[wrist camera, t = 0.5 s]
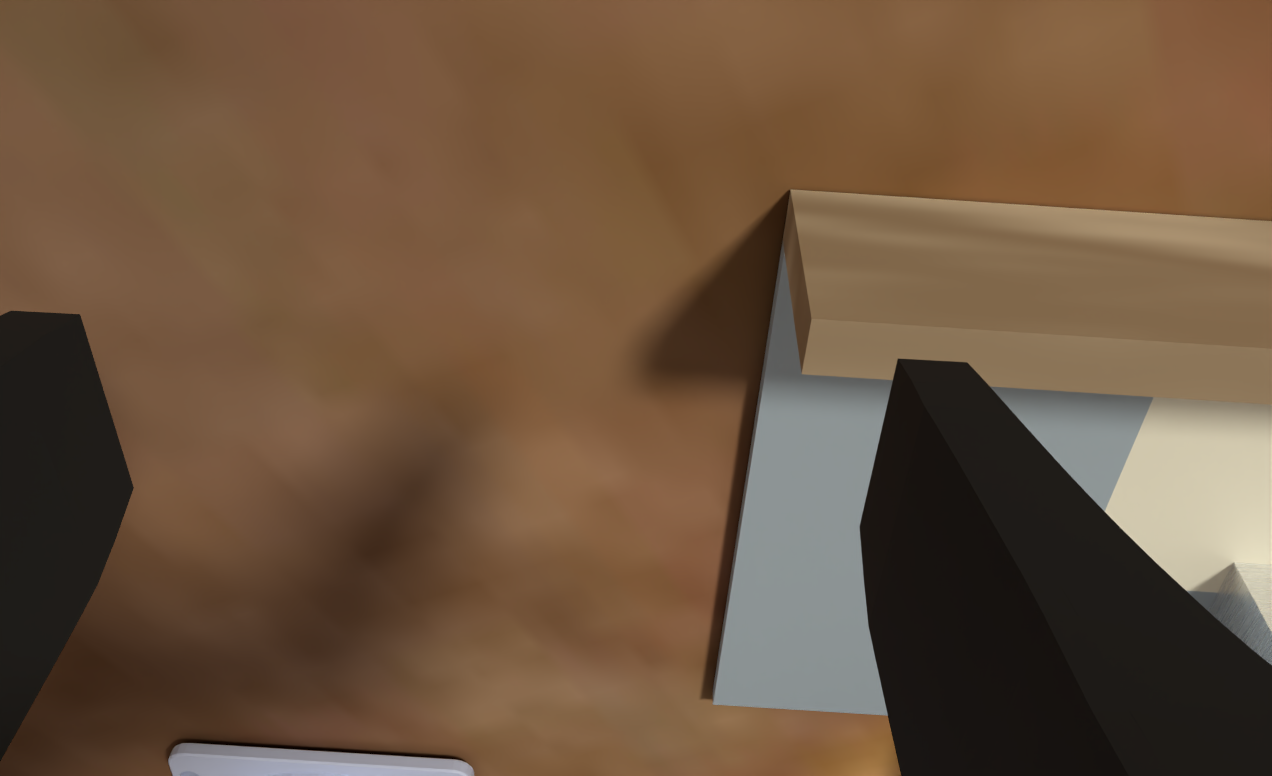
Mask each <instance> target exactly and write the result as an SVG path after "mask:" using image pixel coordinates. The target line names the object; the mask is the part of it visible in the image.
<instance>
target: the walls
mask: <svg viewBox="0 0 1272 776" xmlns="http://www.w3.org/2000/svg"><path fill="white" fill-rule="evenodd" d="M783 246H784V253H785V260H786V267H787V274H788V281H789V288H790V295H791V302H792V310H793V317H794V324H795V331H796V338H797V345H798V352H799V359H800V366H801V373H802V374H806V375H821V376H837V377H852V378H867V379H883V380H893V377H894V373H895V368H896V364H897V360H898V359H916V360H935V361H954V362H967V363H968V364H969V365H970V366H971V367H972V368H973V369H974V370H975V371H976V372H977V373H978V374H979V375H980V376H981V377H982V378H983V380H984V381H985V382H986V383H987V384H988V385H989V386H991V387H1006V388H1022V389H1037V390H1053V391H1068V392H1083V393H1099V394H1114V395H1130V396H1145V397H1161V398H1176V399H1191V400H1207V401H1222V402H1238V403H1253V404H1269V405H1272V221H1260V220H1245V219H1229V218H1214V217H1199V216H1184V215H1169V214H1154V213H1139V212H1123V211H1108V210H1093V209H1078V208H1063V207H1048V206H1032V205H1017V204H1002V203H987V202H972V201H957V200H942V199H926V198H911V197H896V196H881V195H866V194H851V193H836V192H820V191H805V190H790V196H789V203H788V209H787V216H786V222H785V228H784V235H783Z"/></svg>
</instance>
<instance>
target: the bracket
mask: <svg viewBox="0 0 1272 776" xmlns="http://www.w3.org/2000/svg"><path fill="white" fill-rule="evenodd" d="M1208 611H1209V612H1210V613H1211V614H1212V615H1213V616H1214V617H1215V618H1216V619H1217V620H1219V621H1220V622H1221V623H1222V624H1223V625H1224V626H1225V627H1227V628H1228V629H1229V630H1230V631H1231V632H1232V633H1234V634H1235V635H1236V636H1237V637H1238V638H1239V639H1241V640H1242V641H1243V642H1244V643H1245V644H1246V645H1247V646H1249V647H1250V648H1251V649H1252V650H1253V651H1255V652H1256V653H1257V654H1258V655H1260V656H1261V657H1262V658H1263V659H1264V660H1266V661H1267V662H1268V663H1269V664H1271V665H1272V565H1269V564H1253V563H1237V562H1234V563H1233V565H1232V567H1231V569H1230V570H1229V572H1228V574H1227V576H1226V578H1225V580H1224V581H1223V583H1222V585H1221V587H1220V589H1219V591H1218V592H1217V594H1216V596H1215V598H1214V600H1213V602H1212V603H1211V605H1210V607H1209V609H1208Z"/></svg>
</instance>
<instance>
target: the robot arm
mask: <svg viewBox="0 0 1272 776" xmlns="http://www.w3.org/2000/svg"><path fill="white" fill-rule="evenodd" d="M133 488H134V487H133V484H132V481H131V478H130V475H129V471H128V468H127V465H126V462H125V458H124V455H123V452H122V449H121V445H120V442H119V439H118V436H117V433H116V429H115V426H114V423H113V420H112V416H111V413H110V410H109V407H108V403H107V400H106V397H105V394H104V391H103V387H102V384H101V381H100V378H99V374H98V371H97V368H96V365H95V361H94V358H93V355H92V352H91V349H90V345H89V342H88V339H87V336H86V332H85V329H84V326H83V323H82V320H81V316H80V314H61V313H43V312H24V311H10V312H7V313H5V314H3V315H1V316H0V761H1V759H2V757H3V755H4V754H5V752H6V750H7V748H8V746H9V745H10V743H11V741H12V739H13V737H14V736H15V734H16V732H17V730H18V729H19V727H20V725H21V723H22V721H23V720H24V718H25V716H26V714H27V712H28V711H29V709H30V707H31V705H32V703H33V702H34V700H35V698H36V696H37V695H38V693H39V691H40V689H41V687H42V686H43V684H44V682H45V680H46V678H47V677H48V675H49V673H50V671H51V670H52V668H53V666H54V664H55V662H56V661H57V659H58V657H59V655H60V653H61V651H62V650H63V648H64V646H65V644H66V642H67V640H68V639H69V637H70V635H71V633H72V631H73V629H74V628H75V626H76V624H77V622H78V620H79V618H80V617H81V615H82V613H83V611H84V609H85V607H86V605H87V603H88V602H89V600H90V598H91V596H92V594H93V592H94V590H95V588H96V586H97V584H98V582H99V579H100V577H101V574H102V572H103V569H104V567H105V564H106V562H107V559H108V557H109V554H110V552H111V549H112V547H113V544H114V542H115V539H116V536H117V533H118V530H119V528H120V525H121V522H122V519H123V516H124V514H125V511H126V508H127V505H128V502H129V499H130V497H131V494H132V491H133ZM859 528H860V540H861V552H862V564H863V576H864V587H865V597H866V606H867V616H868V626H869V631H870V636H871V640H872V645H873V650H874V655H875V659H876V664H877V668H878V673H879V677H880V682H881V687H882V691H883V696H884V700H885V705H886V709H887V714H888V718H889V723H890V727H891V731H892V736H893V740H894V745H895V749H896V754H897V758H898V762H899V767H900V771H901V776H1272V665H1271V664H1269V663H1268V662H1267V661H1266V660H1264V659H1263V658H1262V657H1261V656H1260V655H1258V654H1257V653H1256V652H1255V651H1253V650H1252V649H1251V648H1250V647H1249V646H1247V645H1246V644H1245V643H1244V642H1243V641H1242V640H1241V639H1239V638H1238V637H1237V636H1236V635H1235V634H1234V633H1232V632H1231V631H1230V630H1229V629H1228V628H1227V627H1225V626H1224V625H1223V624H1222V623H1221V622H1220V621H1219V620H1217V619H1216V618H1215V617H1214V616H1213V615H1212V614H1211V613H1210V612H1209V611H1208V610H1206V609H1205V608H1204V607H1203V606H1202V605H1201V604H1200V603H1199V602H1198V601H1197V600H1196V599H1195V598H1194V597H1192V596H1191V595H1190V594H1189V593H1188V592H1187V591H1186V590H1185V589H1184V588H1183V587H1182V586H1181V585H1180V584H1178V583H1177V582H1176V581H1175V580H1174V579H1173V578H1172V577H1171V576H1170V575H1169V574H1168V573H1167V572H1166V571H1164V570H1163V569H1162V568H1161V567H1160V566H1159V565H1158V564H1157V563H1156V562H1155V561H1154V560H1153V559H1152V558H1151V557H1150V556H1149V555H1148V554H1147V553H1146V552H1145V551H1144V550H1142V549H1141V548H1140V547H1139V546H1138V545H1137V544H1136V543H1135V542H1134V541H1133V540H1132V539H1131V538H1130V537H1129V536H1128V535H1127V534H1126V533H1125V532H1124V531H1123V530H1122V529H1121V528H1120V527H1119V526H1118V525H1117V524H1116V523H1115V522H1114V521H1113V520H1112V519H1111V518H1110V517H1109V516H1108V515H1107V514H1106V512H1105V511H1104V510H1103V509H1102V508H1101V507H1100V506H1099V505H1098V504H1097V503H1096V502H1095V501H1094V500H1093V499H1092V498H1091V497H1090V496H1089V495H1088V494H1087V493H1086V492H1085V491H1084V490H1083V489H1082V487H1081V486H1080V485H1079V484H1078V483H1077V482H1076V481H1075V480H1074V479H1073V478H1072V477H1071V476H1070V475H1069V474H1068V473H1067V471H1066V470H1065V469H1064V468H1063V467H1062V466H1061V465H1060V464H1059V463H1058V462H1057V461H1056V460H1055V459H1054V457H1053V456H1052V455H1051V454H1050V453H1049V452H1048V451H1047V450H1046V449H1045V447H1044V446H1043V445H1042V444H1041V443H1040V442H1039V441H1038V440H1037V439H1036V438H1035V436H1034V435H1033V434H1032V433H1031V432H1030V431H1029V430H1028V429H1027V428H1026V426H1025V425H1024V424H1023V423H1022V422H1021V421H1020V420H1019V419H1018V418H1017V416H1016V415H1015V414H1014V413H1013V412H1012V411H1011V410H1010V409H1009V407H1008V406H1007V405H1006V404H1005V403H1004V402H1003V401H1002V400H1001V398H1000V397H999V396H998V395H997V394H996V393H995V392H994V391H993V390H992V388H991V387H990V386H989V385H988V384H987V383H986V382H985V381H984V380H983V378H982V377H981V376H980V375H979V374H978V373H977V372H976V371H975V370H974V369H973V368H972V367H971V366H970V365H969V364H968V363H967V362H954V361H935V360H916V359H898V360H897V364H896V368H895V373H894V377H893V382H892V386H891V390H890V395H889V399H888V404H887V408H886V412H885V417H884V421H883V426H882V430H881V434H880V439H879V443H878V448H877V452H876V456H875V461H874V465H873V469H872V474H871V478H870V483H869V487H868V491H867V496H866V500H865V505H864V509H863V513H862V518H861V522H860V527H859ZM168 764H169V766H170V769H171V772H172V775H173V776H474V771H473V768H472V767H471V766H470V765H469V764H468V763H466V762H464V761H462V760H456V759H443V758H427V757H411V756H395V755H379V754H363V753H347V752H331V751H315V750H298V749H282V748H266V747H250V746H234V745H218V744H202V743H181V744H179V745H176V746H175V747H174V748H173V749H172V752H171V754H170V756H169V759H168Z"/></svg>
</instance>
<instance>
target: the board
mask: <svg viewBox="0 0 1272 776" xmlns="http://www.w3.org/2000/svg"><path fill="white" fill-rule="evenodd" d="M892 382H893V380H883V379H867V378H852V377H837V376H821V375H806V374H802V373H801V366H800V359H799V352H798V345H797V338H796V331H795V324H794V317H793V310H792V302H791V295H790V288H789V281H788V274H787V267H786V260H785V253H784V246H783V241H782V248H781V254H780V261H779V267H778V274H777V280H776V286H775V293H774V299H773V306H772V312H771V319H770V325H769V332H768V338H767V344H766V351H765V357H764V364H763V370H762V377H761V383H760V390H759V396H758V402H757V409H756V415H755V422H754V428H753V435H752V441H751V448H750V454H749V460H748V467H747V473H746V480H745V486H744V493H743V499H742V506H741V512H740V518H739V525H738V531H737V538H736V544H735V551H734V557H733V563H732V570H731V576H730V583H729V589H728V596H727V602H726V609H725V615H724V621H723V628H722V634H721V641H720V647H719V654H718V660H717V667H716V673H715V679H714V686H713V704H714V705H730V706H746V707H762V708H778V709H794V710H810V711H826V712H842V713H858V714H874V715H888V714H887V709H886V705H885V700H884V696H883V691H882V687H881V682H880V677H879V673H878V668H877V664H876V659H875V655H874V650H873V645H872V640H871V636H870V631H869V626H868V616H867V606H866V597H865V587H864V576H863V564H862V552H861V540H860V528H859V527H860V522H861V518H862V513H863V509H864V505H865V500H866V496H867V491H868V487H869V483H870V478H871V474H872V469H873V465H874V461H875V456H876V452H877V448H878V443H879V439H880V434H881V430H882V426H883V421H884V417H885V412H886V408H887V404H888V399H889V395H890V390H891V386H892ZM990 387H991V386H990ZM991 388H992V390H993V391H994V392H995V393H996V394H997V395H998V396H999V397H1000V398H1001V400H1002V401H1003V402H1004V403H1005V404H1006V405H1007V406H1008V407H1009V409H1010V410H1011V411H1012V412H1013V413H1014V414H1015V415H1016V416H1017V418H1018V419H1019V420H1020V421H1021V422H1022V423H1023V424H1024V425H1025V426H1026V428H1027V429H1028V430H1029V431H1030V432H1031V433H1032V434H1033V435H1034V436H1035V438H1036V439H1037V440H1038V441H1039V442H1040V443H1041V444H1042V445H1043V446H1044V447H1045V449H1046V450H1047V451H1048V452H1049V453H1050V454H1051V455H1052V456H1053V457H1054V459H1055V460H1056V461H1057V462H1058V463H1059V464H1060V465H1061V466H1062V467H1063V468H1064V469H1065V470H1066V471H1067V473H1068V474H1069V475H1070V476H1071V477H1072V478H1073V479H1074V480H1075V481H1076V482H1077V483H1078V484H1079V485H1080V486H1081V487H1082V489H1083V490H1084V491H1085V492H1086V493H1087V494H1088V495H1089V496H1090V497H1091V498H1092V499H1093V500H1094V501H1095V502H1096V503H1097V504H1098V505H1099V506H1100V507H1101V508H1102V509H1103V510H1104V511H1105V512H1106V514H1107V515H1108V516H1109V517H1110V518H1111V519H1112V520H1113V521H1114V522H1115V523H1116V524H1117V525H1118V526H1119V527H1120V528H1121V529H1122V530H1123V531H1124V532H1125V533H1126V534H1127V535H1128V536H1129V537H1130V538H1131V539H1132V540H1133V541H1134V542H1135V543H1136V544H1137V545H1138V546H1139V547H1140V548H1141V549H1142V550H1144V551H1145V552H1146V553H1147V554H1148V555H1149V556H1150V557H1151V558H1152V559H1153V560H1154V561H1155V562H1156V563H1157V564H1158V565H1159V566H1160V567H1161V568H1162V569H1163V570H1164V571H1166V572H1167V573H1168V574H1169V575H1170V576H1171V577H1172V578H1173V579H1174V580H1175V581H1176V582H1177V583H1178V584H1180V585H1181V586H1182V587H1183V588H1184V589H1185V590H1186V591H1187V592H1188V593H1189V594H1190V595H1191V596H1192V597H1194V598H1195V599H1196V600H1197V601H1198V602H1199V603H1200V604H1201V605H1202V606H1203V607H1204V608H1205V609H1206V610H1208V609H1209V607H1210V605H1211V603H1212V602H1213V600H1214V598H1215V596H1216V594H1217V592H1218V591H1219V589H1220V587H1221V585H1222V583H1223V581H1224V580H1225V578H1226V576H1227V574H1228V572H1229V570H1230V569H1231V567H1232V565H1233V563H1234V562H1237V563H1253V564H1269V565H1272V405H1269V404H1253V403H1238V402H1222V401H1207V400H1191V399H1176V398H1161V397H1145V396H1130V395H1114V394H1099V393H1083V392H1068V391H1053V390H1037V389H1022V388H1006V387H991Z"/></svg>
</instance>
